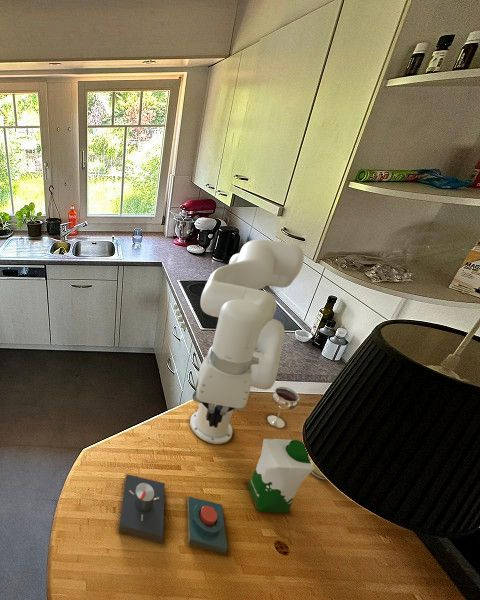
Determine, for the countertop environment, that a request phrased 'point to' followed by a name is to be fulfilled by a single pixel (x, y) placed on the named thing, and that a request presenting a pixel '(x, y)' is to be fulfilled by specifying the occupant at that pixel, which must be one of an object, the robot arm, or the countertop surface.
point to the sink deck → (138, 521)
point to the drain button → (208, 515)
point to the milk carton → (279, 474)
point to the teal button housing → (206, 527)
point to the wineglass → (283, 404)
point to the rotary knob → (144, 497)
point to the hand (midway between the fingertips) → (212, 422)
